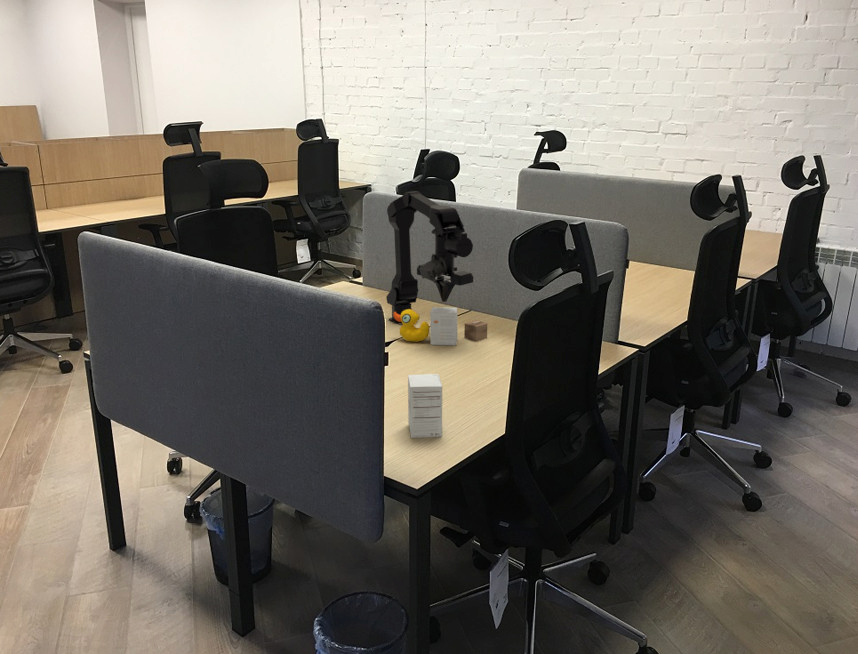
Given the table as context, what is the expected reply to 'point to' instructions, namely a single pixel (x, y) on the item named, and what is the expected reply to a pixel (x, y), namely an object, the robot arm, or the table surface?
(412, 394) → the supplement box
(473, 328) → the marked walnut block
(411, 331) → the duckling
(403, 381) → the table surface
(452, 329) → the small box
